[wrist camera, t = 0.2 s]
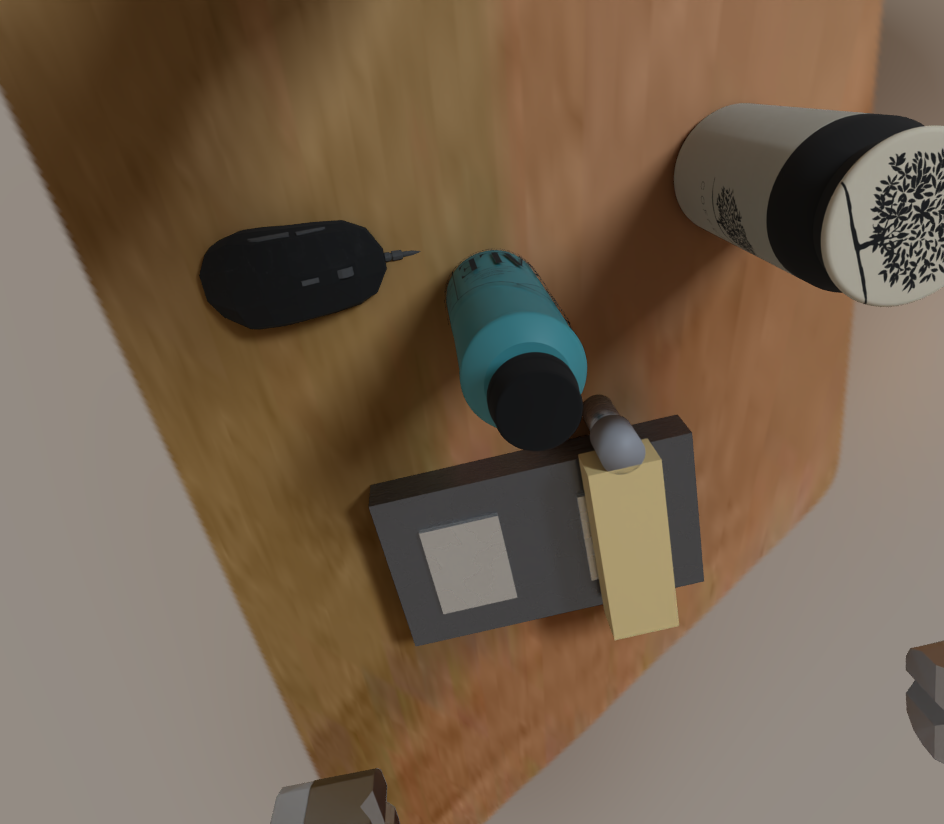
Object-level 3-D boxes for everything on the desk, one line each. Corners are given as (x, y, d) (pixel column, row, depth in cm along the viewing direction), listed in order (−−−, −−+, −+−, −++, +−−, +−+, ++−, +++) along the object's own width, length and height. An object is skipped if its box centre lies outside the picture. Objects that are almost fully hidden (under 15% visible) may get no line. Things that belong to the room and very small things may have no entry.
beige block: (572, 423, 48) (582, 444, 45) (644, 407, 48) (658, 426, 45) (604, 612, 56) (614, 640, 53) (665, 599, 56) (679, 625, 53)
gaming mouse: (435, 294, 48) (438, 312, 44) (221, 329, 48) (206, 349, 44) (420, 200, 45) (421, 211, 41) (192, 237, 45) (173, 251, 41)
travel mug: (787, 86, 43) (1013, 93, 27) (795, 212, 47) (1000, 284, 31) (663, 124, 44) (814, 153, 28) (681, 246, 47) (823, 335, 31)
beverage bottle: (477, 351, 49) (519, 509, 31) (421, 276, 47) (432, 402, 29) (555, 298, 48) (644, 432, 30) (502, 218, 45) (566, 312, 28)
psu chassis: (358, 449, 52) (355, 473, 49) (673, 376, 52) (691, 396, 48) (415, 620, 60) (415, 651, 56) (690, 558, 59) (706, 585, 56)
